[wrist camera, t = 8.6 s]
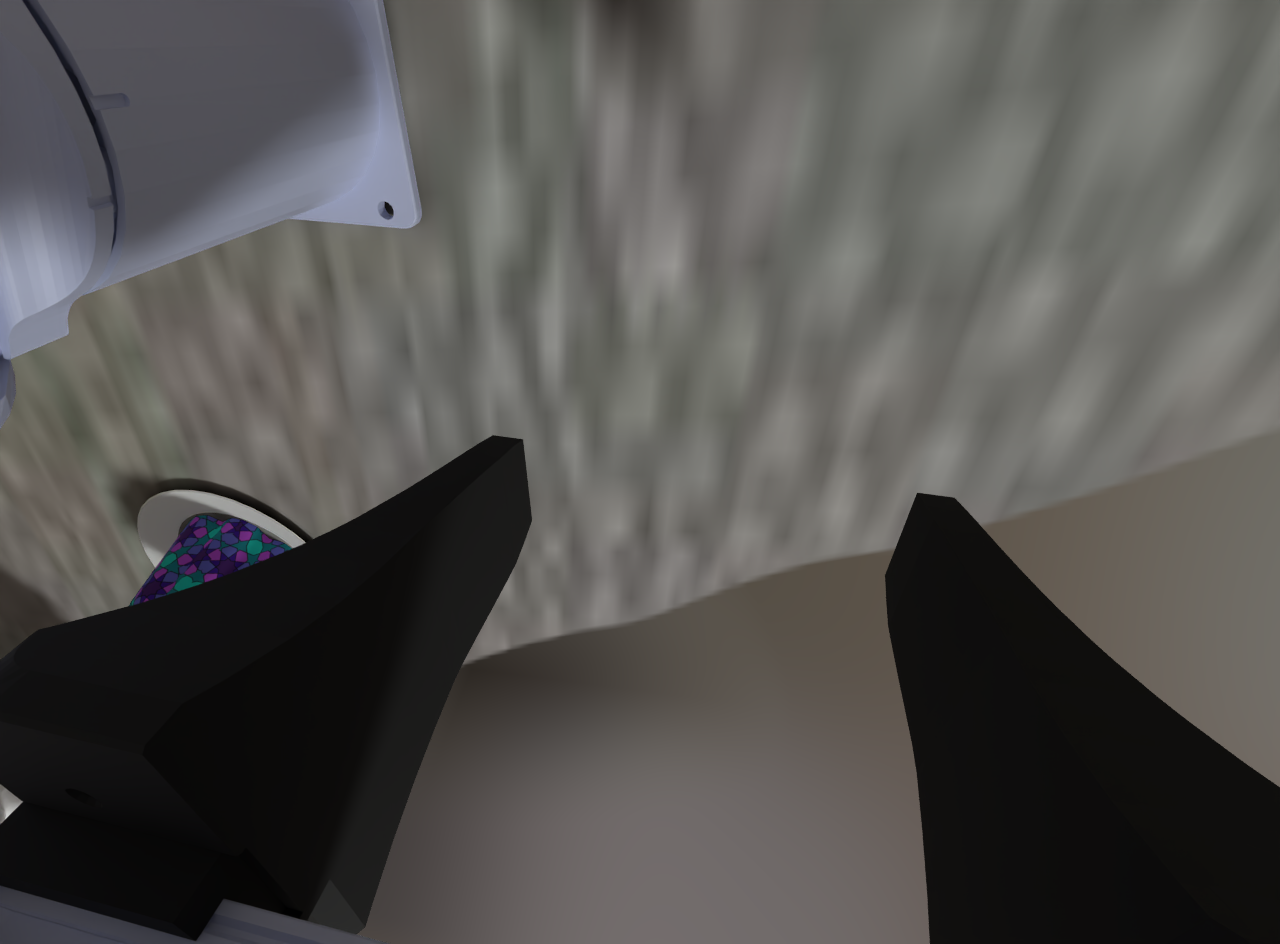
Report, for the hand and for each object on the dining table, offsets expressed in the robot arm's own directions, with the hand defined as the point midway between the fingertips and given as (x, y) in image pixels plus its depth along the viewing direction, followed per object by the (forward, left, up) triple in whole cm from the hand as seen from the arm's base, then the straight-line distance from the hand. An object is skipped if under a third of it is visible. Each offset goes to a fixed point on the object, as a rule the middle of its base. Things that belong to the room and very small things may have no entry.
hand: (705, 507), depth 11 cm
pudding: (-24, -17, -10) cm, 31 cm away
